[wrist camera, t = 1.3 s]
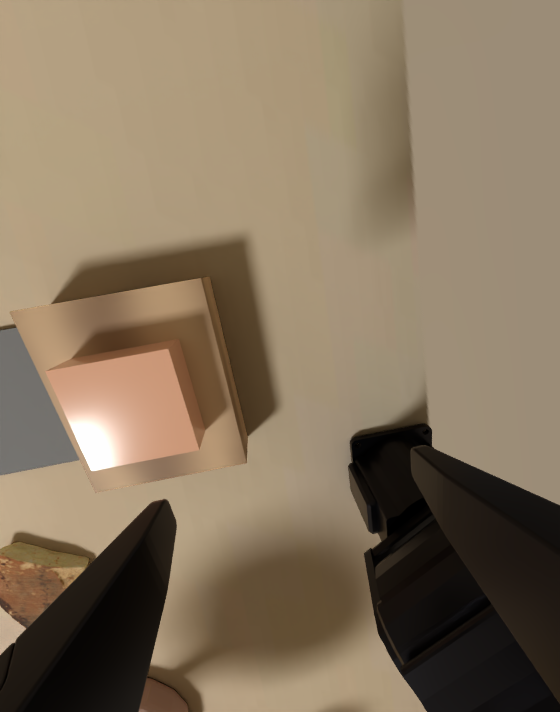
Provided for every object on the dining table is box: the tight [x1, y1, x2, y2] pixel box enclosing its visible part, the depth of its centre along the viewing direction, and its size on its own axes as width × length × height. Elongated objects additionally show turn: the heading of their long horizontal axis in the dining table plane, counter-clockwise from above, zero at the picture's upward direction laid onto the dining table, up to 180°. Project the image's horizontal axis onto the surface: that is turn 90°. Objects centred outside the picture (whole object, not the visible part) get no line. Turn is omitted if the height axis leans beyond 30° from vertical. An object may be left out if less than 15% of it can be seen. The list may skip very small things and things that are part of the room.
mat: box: [0, 327, 80, 475], centre depth 19 cm, size 9×10×1 cm
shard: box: [0, 542, 89, 629], centre depth 24 cm, size 11×8×2 cm
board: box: [10, 276, 248, 493], centre depth 18 cm, size 10×12×3 cm
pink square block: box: [45, 339, 205, 471], centre depth 15 cm, size 6×6×2 cm
